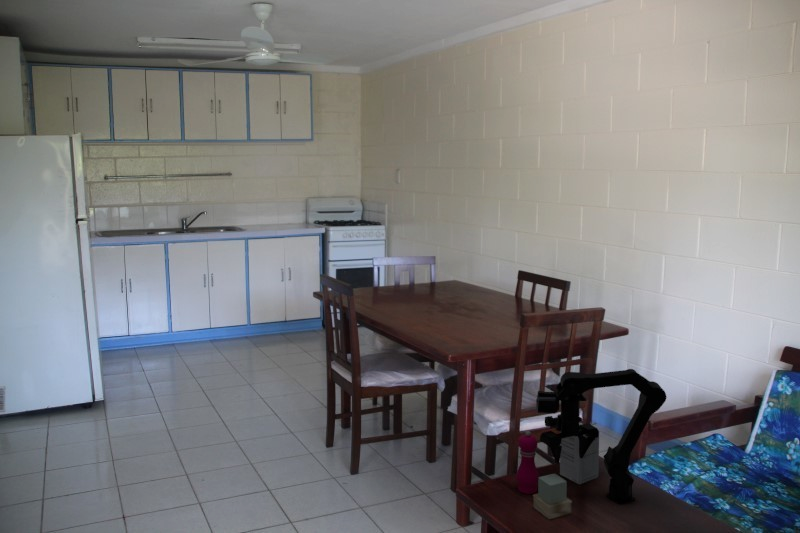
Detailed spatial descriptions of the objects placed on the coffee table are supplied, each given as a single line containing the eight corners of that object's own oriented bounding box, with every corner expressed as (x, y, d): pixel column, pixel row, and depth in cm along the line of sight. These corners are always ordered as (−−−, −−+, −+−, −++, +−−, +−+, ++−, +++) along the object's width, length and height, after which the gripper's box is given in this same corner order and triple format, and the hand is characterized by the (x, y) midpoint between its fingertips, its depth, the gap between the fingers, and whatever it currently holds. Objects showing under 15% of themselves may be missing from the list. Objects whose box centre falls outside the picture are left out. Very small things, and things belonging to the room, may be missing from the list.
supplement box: (578, 467, 233) (579, 421, 231) (599, 477, 226) (600, 430, 223) (558, 474, 228) (559, 427, 226) (579, 485, 221) (580, 436, 218)
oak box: (555, 501, 210) (555, 489, 210) (571, 513, 203) (572, 501, 202) (532, 507, 207) (532, 494, 206) (548, 519, 199) (549, 507, 199)
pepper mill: (543, 490, 217) (544, 431, 215) (527, 497, 213) (528, 437, 211) (527, 482, 223) (528, 425, 220) (511, 488, 219) (511, 430, 216)
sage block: (554, 491, 208) (554, 473, 207) (566, 500, 203) (566, 481, 202) (538, 495, 206) (538, 477, 205) (550, 504, 200) (550, 485, 200)
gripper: (577, 400, 220) (576, 446, 223) (530, 409, 213) (529, 456, 215) (600, 411, 210) (599, 458, 212) (551, 421, 203) (550, 470, 205)
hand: (569, 460), depth 212 cm, fingers open, 9 cm apart
